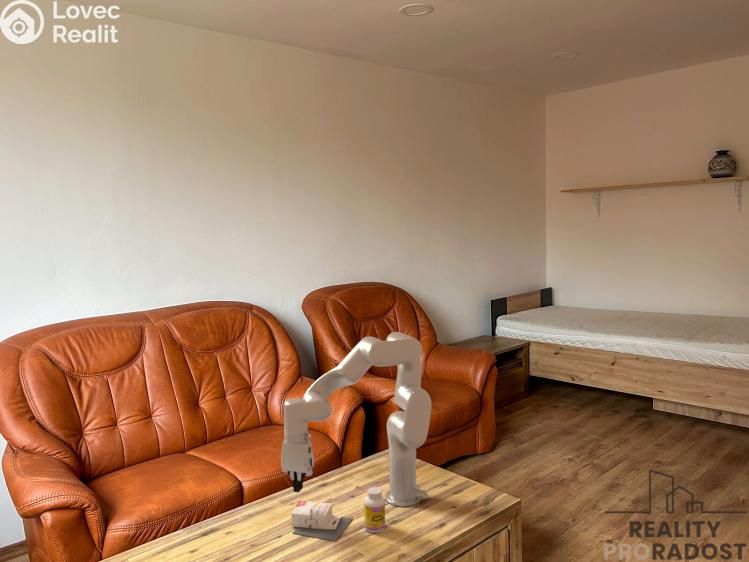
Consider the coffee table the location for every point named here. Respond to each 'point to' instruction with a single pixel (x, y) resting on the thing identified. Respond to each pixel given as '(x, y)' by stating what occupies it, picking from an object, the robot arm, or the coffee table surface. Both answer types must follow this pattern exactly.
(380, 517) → the supplement bottle
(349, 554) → the coffee table surface
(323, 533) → the mat
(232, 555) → the coffee table surface
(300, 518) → the ink cartridge box
